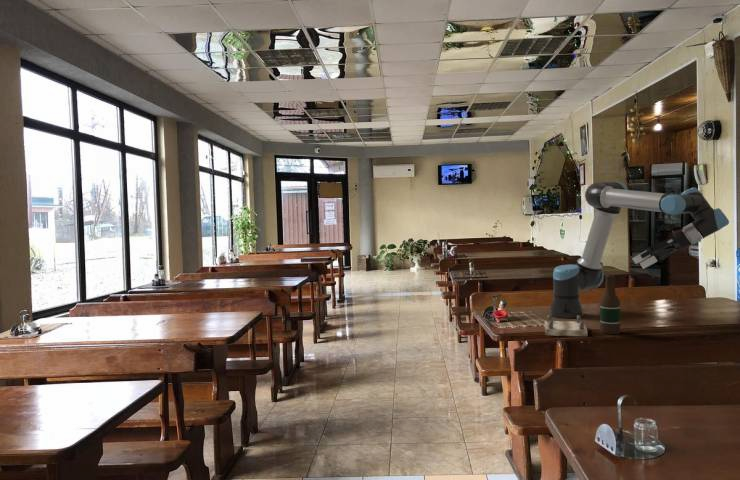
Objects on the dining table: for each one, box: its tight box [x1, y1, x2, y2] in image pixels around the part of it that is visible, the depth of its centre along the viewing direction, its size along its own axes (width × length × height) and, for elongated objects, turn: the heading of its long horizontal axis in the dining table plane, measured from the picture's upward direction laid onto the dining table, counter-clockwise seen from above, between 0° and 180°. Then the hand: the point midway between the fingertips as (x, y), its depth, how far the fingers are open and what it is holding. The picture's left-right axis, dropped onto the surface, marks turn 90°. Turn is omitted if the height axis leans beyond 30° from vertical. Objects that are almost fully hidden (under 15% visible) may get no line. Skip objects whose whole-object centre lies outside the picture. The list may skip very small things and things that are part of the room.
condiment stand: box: [544, 314, 588, 337], centre depth 244 cm, size 16×16×6 cm
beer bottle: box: [599, 274, 621, 335], centre depth 239 cm, size 8×8×24 cm
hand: (637, 263), depth 242 cm, fingers open, 13 cm apart
